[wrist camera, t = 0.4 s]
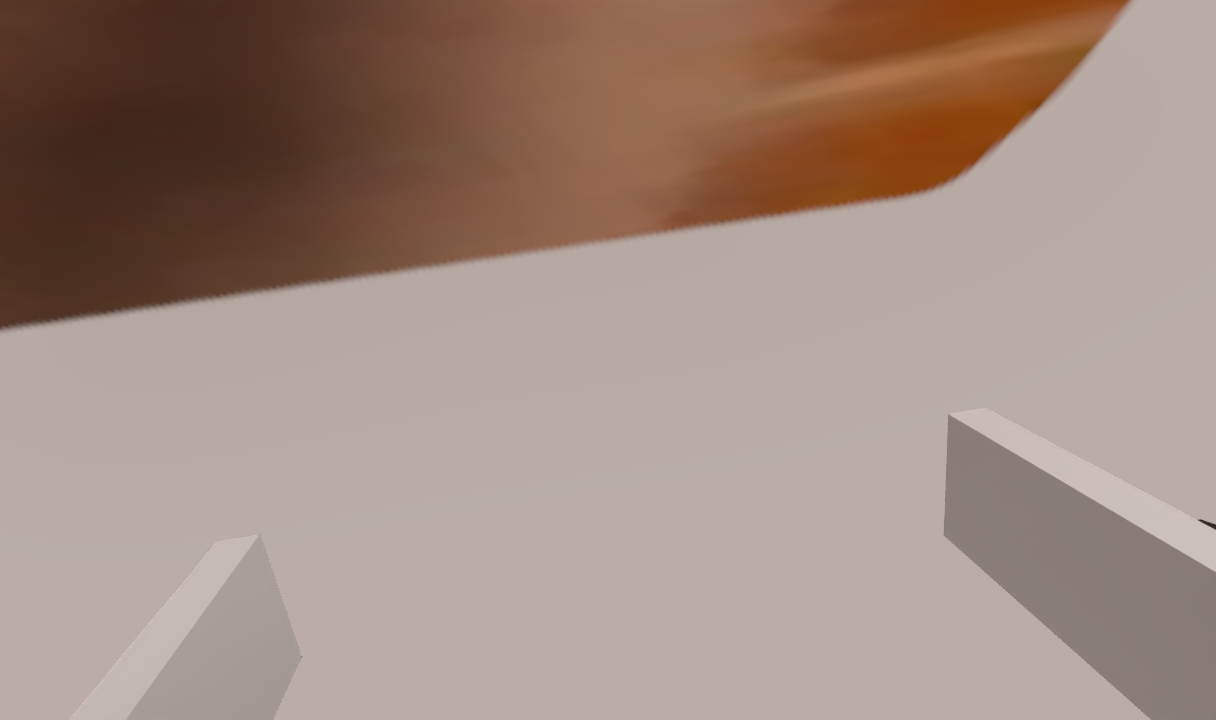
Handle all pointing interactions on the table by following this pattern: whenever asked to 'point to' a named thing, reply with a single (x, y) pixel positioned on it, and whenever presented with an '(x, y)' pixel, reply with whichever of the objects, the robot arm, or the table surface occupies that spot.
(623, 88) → the table surface
